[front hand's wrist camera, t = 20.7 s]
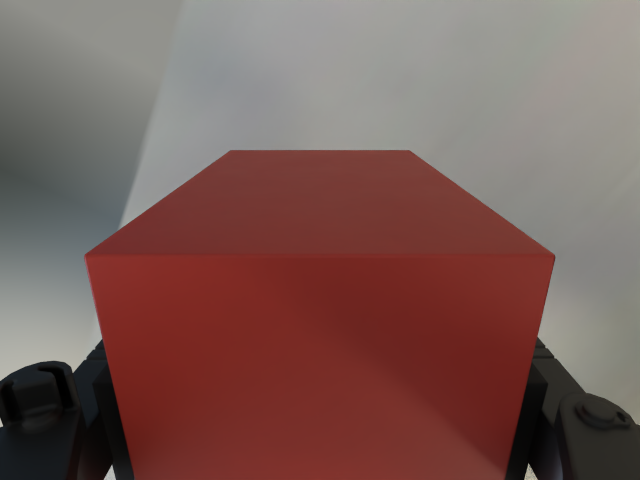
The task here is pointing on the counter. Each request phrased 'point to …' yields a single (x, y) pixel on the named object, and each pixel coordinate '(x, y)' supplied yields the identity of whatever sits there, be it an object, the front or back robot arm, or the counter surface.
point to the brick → (319, 322)
